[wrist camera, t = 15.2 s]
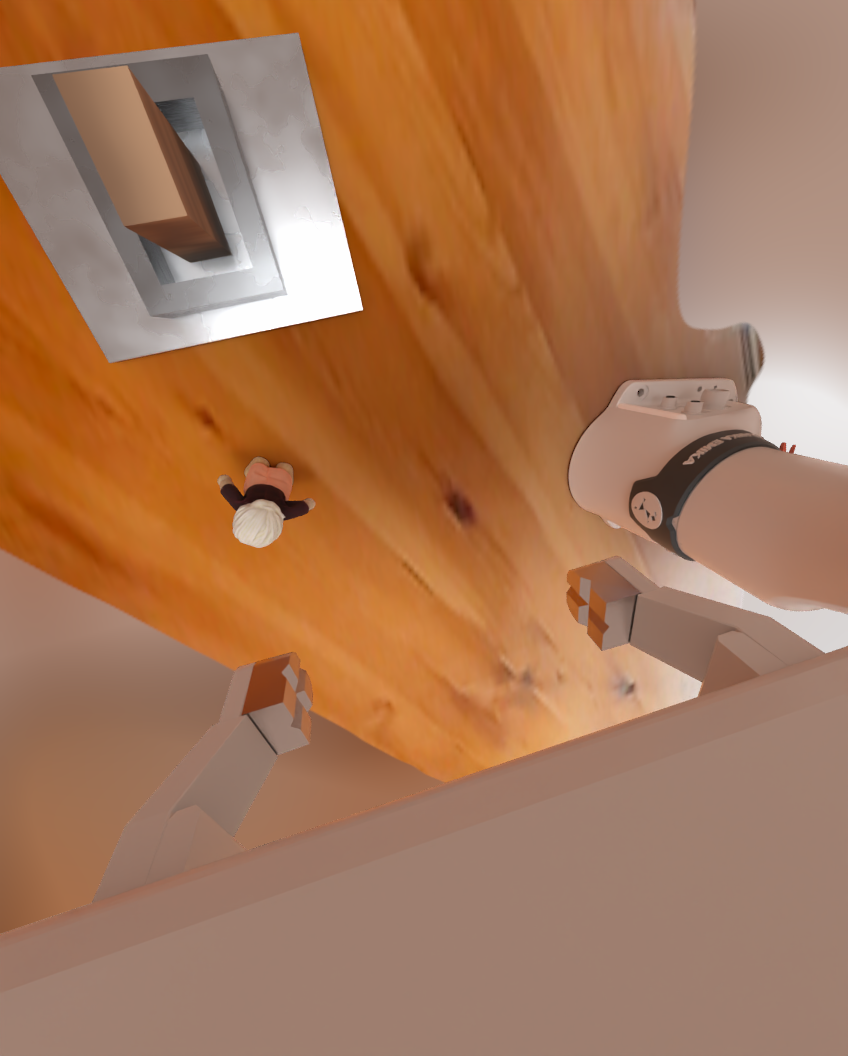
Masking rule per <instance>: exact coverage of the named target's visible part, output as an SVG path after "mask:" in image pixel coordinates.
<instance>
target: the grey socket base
mask: <svg viewBox="0 0 848 1056" xmlns="http://www.w3.org/2000/svg"><path fill="white" fill-rule="evenodd" d="M118 66H128V67H129V69H130V70H131V71H132V73H133V74H134V75H135V77H136V78H137V80H138V81H139V82H140V84H141V85H142V86H143V88H144V89H145V90H146V92H147V93H148V95H149V96H150V97H151V99H152V100H153V101H154V103H155V104H156V105H157V107H158V108H159V110H160V111H161V112H162V114H163V115H164V116H165V118H166V119H167V121H168V122H169V123H170V125H171V126H172V127H173V129H174V130H175V131H176V133H177V134H178V136H179V137H180V138H181V140H182V141H183V142H184V144H185V145H186V147H187V148H188V149H189V151H190V152H191V153H192V155H193V156H194V157H195V159H196V160H197V162H198V163H199V165H200V168H201V171H202V174H203V176H204V179H205V182H206V184H207V187H208V190H209V193H210V195H211V198H212V201H213V204H214V206H215V209H216V212H217V214H218V217H219V220H220V223H221V225H222V228H223V231H224V233H225V236H226V239H227V242H228V244H229V247H230V250H231V252H232V255H231V256H226V257H220V258H215V259H209V260H204V261H199V262H193V263H190V262H188V261H186V260H184V259H182V258H181V257H179V256H177V255H175V254H173V253H171V252H170V251H168V250H166V249H164V248H162V247H161V246H159V245H157V244H155V243H153V242H151V241H150V240H148V239H146V238H144V237H142V236H140V235H139V234H137V233H135V232H133V231H131V230H130V229H128V228H126V227H124V225H123V223H122V221H121V219H120V217H119V215H118V213H117V211H116V209H115V207H114V204H113V202H112V200H111V198H110V196H109V194H108V192H107V190H106V188H105V185H104V183H103V181H102V179H101V177H100V175H99V173H98V171H97V169H96V167H95V164H94V162H93V160H92V158H91V156H90V154H89V152H88V150H87V148H86V146H85V143H84V141H83V139H82V137H81V135H80V133H79V131H78V129H77V127H76V125H75V122H74V120H73V118H72V116H71V114H70V112H69V110H68V108H67V106H66V104H65V101H64V99H63V97H62V95H61V93H60V91H59V89H58V87H57V85H56V82H55V80H54V78H53V76H52V75H53V74H61V73H69V72H77V71H85V70H94V69H102V68H110V67H118ZM0 174H1V176H2V178H3V180H4V181H5V183H6V185H7V187H8V188H9V190H10V192H11V193H12V195H13V197H14V199H15V200H16V202H17V204H18V206H19V207H20V209H21V211H22V212H23V214H24V216H25V218H26V219H27V221H28V223H29V225H30V226H31V228H32V230H33V231H34V233H35V235H36V237H37V238H38V240H39V242H40V244H41V245H42V247H43V249H44V250H45V252H46V254H47V256H48V257H49V259H50V261H51V263H52V264H53V266H54V268H55V270H56V271H57V273H58V275H59V276H60V278H61V280H62V282H63V283H64V285H65V287H66V289H67V290H68V292H69V294H70V295H71V297H72V299H73V301H74V302H75V304H76V306H77V308H78V309H79V311H80V313H81V314H82V316H83V318H84V320H85V321H86V323H87V325H88V327H89V328H90V330H91V332H92V334H93V335H94V337H95V339H96V340H97V342H98V344H99V346H100V347H101V349H102V351H103V353H104V354H105V356H106V358H107V359H108V361H109V363H114V362H120V361H125V360H130V359H134V358H139V357H144V356H149V355H153V354H158V353H163V352H168V351H172V350H177V349H182V348H187V347H191V346H196V345H201V344H206V343H210V342H215V341H220V340H225V339H229V338H234V337H239V336H244V335H248V334H253V333H258V332H263V331H267V330H272V329H277V328H282V327H286V326H291V325H296V324H301V323H305V322H310V321H315V320H319V319H324V318H329V317H334V316H338V315H343V314H348V313H353V312H357V311H362V310H363V308H362V303H361V299H360V295H359V291H358V286H357V282H356V278H355V273H354V269H353V265H352V261H351V256H350V252H349V248H348V243H347V239H346V235H345V231H344V226H343V222H342V218H341V213H340V209H339V205H338V201H337V196H336V192H335V188H334V183H333V179H332V175H331V171H330V166H329V162H328V158H327V153H326V149H325V145H324V141H323V136H322V132H321V128H320V124H319V119H318V115H317V111H316V106H315V102H314V98H313V94H312V89H311V85H310V81H309V76H308V72H307V68H306V64H305V59H304V55H303V51H302V46H301V42H300V38H299V34H298V33H292V34H284V35H275V36H267V37H258V38H249V39H241V40H232V41H224V42H215V43H207V44H198V45H190V46H181V47H172V48H164V49H155V50H147V51H138V52H130V53H121V54H113V55H104V56H96V57H87V58H78V59H70V60H61V61H53V62H44V63H36V64H27V65H19V66H10V67H2V68H0Z"/></svg>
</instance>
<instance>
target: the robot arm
mask: <svg viewBox="0 0 848 1056" xmlns="http://www.w3.org/2000/svg"><path fill="white" fill-rule="evenodd" d="M638 391H639V393H638ZM637 393H638V395H637ZM795 447H796V445H793V446H792V447H791V449H790V451H789V453H788V452H786V443H782V444H781V446H780V448H778V447H777V446H775V445H774V444H772V443H770V442H768V441H766V440H764V438H763V437H761V417H760V414H759V412H758V410H757V409H756V408H755V407H754V406H752V405H749V404H744V403H739V402H738V396H737V389H736V386H735V383H734V381H733V380H731V379H727V378H694V379H653V380H628V381H626V382H624V383H623V384H622V385H621V386H620V387H619V389H618V390H617V392H616V394H615V395H614V397H613V399H612V401H611V402H610V404H609V406H608V407H607V409H606V410H605V411H604V412H603V413H602V414H601V415H600V416H599V417H598V418H597V419H596V420H595V421H594V422H593V423H592V424H591V425H590V426H589V427H588V429H587V430H586V431H585V433H584V434H583V436H582V437H581V439H580V440H579V442H578V444H577V446H576V448H575V450H574V453H573V456H572V459H571V463H570V467H569V486H570V491H571V494H572V496H573V498H574V500H575V501H576V502H577V504H578V505H579V506H580V507H582V508H583V509H585V510H586V511H589V512H592V513H594V514H597V515H599V516H600V517H601V518H602V519H603V521H604V522H605V523H606V524H607V525H609V526H610V527H613V528H615V529H618V528H621V527H622V528H624V529H626V530H628V531H630V532H632V533H634V534H636V535H639V536H641V537H643V538H645V539H647V540H649V541H651V542H653V543H656V544H659V545H661V546H663V547H664V548H666V550H667V551H669V552H671V553H673V554H675V555H678V556H680V557H682V558H684V559H686V560H690V561H697V562H699V563H700V564H702V565H704V566H705V567H707V568H709V569H710V570H712V571H714V572H715V573H717V574H718V575H720V576H722V577H723V578H725V579H727V580H728V581H730V582H732V583H733V584H735V585H737V586H738V587H740V588H742V589H743V590H745V591H747V592H748V593H750V594H752V595H753V596H755V597H757V598H759V599H760V600H762V601H763V602H765V603H767V604H769V605H771V606H774V607H777V608H780V609H784V610H790V611H812V610H819V609H824V608H825V609H830V610H834V611H837V612H841V613H844V614H848V466H847V465H842V464H838V463H833V462H828V461H824V460H819V459H815V458H810V457H805V456H801V455H797V454H793V453H794V450H795ZM567 582H568V583H569V584H570V585H571V587H570V588H569V590H568V591H567V604H568V607H569V610H570V612H571V614H572V615H573V617H574V618H575V619H576V621H577V622H578V623H580V624H582V625H585V626H587V627H588V628H587V634H588V635H589V636H590V638H591V639H592V640H593V641H594V642H595V644H596V645H597V646H598V647H599V648H600V650H601V651H603V650H607V649H610V648H614V647H617V646H621V645H624V644H628V643H630V645H632V646H634V647H636V648H638V649H639V650H641V651H643V652H645V653H647V654H649V655H651V656H653V657H655V658H657V659H659V660H660V661H662V662H664V663H666V664H668V665H670V666H672V667H674V668H676V669H678V670H680V671H682V672H683V673H685V674H687V675H689V676H691V677H693V678H695V679H697V680H699V681H701V682H702V685H701V688H700V691H699V694H698V697H697V698H694V699H691V700H688V701H685V702H682V703H679V704H676V705H673V706H670V707H667V708H664V709H661V710H658V711H655V712H652V713H649V714H647V715H644V716H641V717H638V718H635V719H632V720H629V721H626V722H623V723H620V724H617V725H614V726H611V727H608V728H605V729H602V730H599V731H597V732H594V733H591V734H588V735H585V736H582V737H579V738H576V739H573V740H570V741H567V742H564V743H561V744H558V745H555V746H552V747H549V748H547V749H544V750H541V751H538V752H535V753H532V754H529V755H526V756H523V757H520V758H517V759H514V760H511V761H508V762H505V763H502V764H500V765H497V766H494V767H491V768H488V769H485V770H482V771H479V772H476V773H473V774H470V775H467V776H464V777H461V778H459V779H456V780H453V781H450V782H447V783H444V784H441V785H438V786H435V787H432V788H429V789H426V790H424V791H421V792H418V793H415V794H412V795H409V796H406V797H403V798H400V799H397V800H394V801H391V802H388V803H385V804H383V805H380V806H376V807H373V808H370V809H367V810H365V811H362V812H359V813H356V814H353V815H350V816H347V817H344V818H341V819H338V820H335V821H332V822H329V823H326V824H323V825H321V826H317V827H315V828H312V829H309V830H306V831H303V832H300V833H297V834H294V835H291V836H288V837H285V838H282V839H279V840H277V841H273V842H270V843H267V844H264V845H262V846H259V847H256V848H253V849H250V850H246V849H245V848H244V847H243V846H242V845H241V844H240V843H239V842H238V841H237V840H235V839H234V838H233V837H234V836H235V833H236V832H237V830H238V828H239V827H240V825H241V823H242V821H243V819H244V817H245V816H246V814H247V812H248V810H249V808H250V807H251V805H252V803H253V801H254V799H255V798H256V796H257V794H258V792H259V790H260V789H261V786H262V785H263V783H264V781H265V780H266V778H267V776H268V774H269V772H270V770H271V769H272V767H273V765H274V763H275V761H276V760H277V755H279V754H282V753H285V752H288V751H291V750H294V749H297V748H299V747H302V746H305V745H308V744H310V733H311V718H310V717H309V715H308V713H307V712H308V711H309V709H310V708H311V706H312V703H313V692H312V684H311V681H310V678H309V676H308V674H307V672H306V671H305V670H303V669H301V668H300V659H299V657H298V656H297V654H296V653H295V652H291V653H287V654H283V655H279V656H276V657H272V658H268V659H264V660H261V661H257V662H255V663H251V664H247V665H244V666H240V667H238V668H237V669H236V670H235V672H234V674H233V677H232V681H231V684H230V687H229V690H228V694H227V697H226V700H225V703H224V707H223V710H222V713H221V717H220V720H219V723H217V724H214V725H212V726H211V727H210V729H209V730H208V731H207V732H206V733H205V734H204V736H203V737H202V738H201V739H200V740H199V741H198V742H197V744H196V745H195V746H194V747H193V748H192V749H191V750H190V752H189V753H188V754H187V755H186V756H185V757H184V759H183V760H182V761H181V762H180V763H179V764H178V765H177V767H176V768H175V769H174V770H173V771H172V772H171V774H170V775H169V776H168V777H167V778H166V779H165V780H164V782H163V783H162V784H161V785H160V786H159V787H158V789H157V790H156V791H155V792H154V793H153V794H152V795H151V797H150V798H149V799H148V800H147V801H146V802H145V804H144V805H143V806H142V807H141V808H140V809H139V810H138V812H137V813H136V814H135V815H134V816H133V817H132V819H131V820H130V821H129V822H128V823H127V824H126V826H125V827H124V830H123V832H122V835H121V837H120V839H119V841H118V844H117V846H116V848H115V851H114V853H113V855H112V858H111V860H110V862H109V865H108V867H107V869H106V871H105V874H104V876H103V878H102V881H101V883H100V885H99V888H98V890H97V892H96V895H95V897H94V899H93V901H92V903H91V904H88V905H85V906H82V907H79V908H76V909H73V910H70V911H67V912H64V913H61V914H58V915H55V916H52V917H49V918H47V919H44V920H40V921H38V922H34V923H32V924H29V925H26V926H23V927H20V928H17V929H14V930H11V931H8V932H5V933H2V934H0V1056H848V646H846V647H844V648H841V649H838V650H835V651H832V652H829V653H826V654H825V653H824V652H822V651H821V650H819V649H818V648H816V647H815V646H813V645H812V644H810V643H809V642H807V641H806V640H804V639H802V638H801V637H799V636H798V635H797V634H795V633H794V632H792V631H791V630H789V629H788V628H786V627H784V626H783V625H781V624H780V623H778V622H777V621H775V620H774V619H772V618H771V617H768V616H764V615H761V614H757V613H754V612H751V611H747V610H743V609H740V608H737V607H733V606H730V605H727V604H723V603H720V602H716V601H713V600H709V599H706V598H703V597H699V596H696V595H692V594H689V593H685V592H682V591H679V590H675V589H672V588H668V587H662V588H659V587H658V586H657V585H656V584H654V583H653V582H652V581H651V580H649V579H648V578H647V577H645V576H644V575H643V574H642V573H640V572H639V571H638V570H637V569H635V568H634V567H633V566H631V565H630V564H629V563H628V562H626V561H625V560H624V559H622V558H621V557H618V556H614V557H611V558H608V559H605V560H602V561H600V562H595V563H592V564H589V565H586V566H582V567H579V568H576V569H572V570H569V572H568V574H567Z"/></svg>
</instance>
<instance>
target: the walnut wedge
mask: <svg viewBox="0 0 848 1056" xmlns="http://www.w3.org/2000/svg"><path fill="white" fill-rule="evenodd" d="M52 76H53V78H54V80H55V82H56V85H57V87H58V89H59V91H60V93H61V95H62V97H63V99H64V101H65V104H66V106H67V108H68V110H69V112H70V114H71V116H72V118H73V120H74V122H75V125H76V127H77V129H78V131H79V133H80V135H81V137H82V139H83V141H84V143H85V146H86V148H87V150H88V152H89V154H90V156H91V158H92V160H93V162H94V164H95V167H96V169H97V171H98V173H99V175H100V177H101V179H102V181H103V183H104V185H105V188H106V190H107V192H108V194H109V196H110V198H111V200H112V202H113V204H114V207H115V209H116V211H117V213H118V215H119V217H120V219H121V221H122V223H123V225H124V227H126V228H128V229H130V230H131V231H133V232H135V233H137V234H139V235H140V236H142V237H144V238H146V239H148V240H150V241H151V242H153V243H155V244H157V245H159V246H161V247H162V248H164V249H166V250H168V251H170V252H171V253H173V254H175V255H177V256H179V257H181V258H182V259H184V260H186V261H188V262H190V263H193V262H199V261H204V260H209V259H215V258H220V257H226V256H231V255H232V252H231V250H230V247H229V244H228V242H227V239H226V236H225V233H224V231H223V228H222V225H221V223H220V220H219V217H218V214H217V212H216V209H215V206H214V204H213V201H212V198H211V195H210V193H209V190H208V187H207V184H206V182H205V179H204V176H203V174H202V171H201V168H200V165H199V163H198V162H197V160H196V159H195V157H194V156H193V155H192V153H191V152H190V151H189V149H188V148H187V147H186V145H185V144H184V142H183V141H182V140H181V138H180V137H179V136H178V134H177V133H176V131H175V130H174V129H173V127H172V126H171V125H170V123H169V122H168V121H167V119H166V118H165V116H164V115H163V114H162V112H161V111H160V110H159V108H158V107H157V105H156V104H155V103H154V101H153V100H152V99H151V97H150V96H149V95H148V93H147V92H146V90H145V89H144V88H143V86H142V85H141V84H140V82H139V81H138V80H137V78H136V77H135V75H134V74H133V73H132V71H131V70H130V69H129V67H128V66H118V67H110V68H102V69H94V70H85V71H77V72H69V73H61V74H53V75H52Z"/></svg>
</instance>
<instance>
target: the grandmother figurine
mask: <svg viewBox="0 0 848 1056" xmlns="http://www.w3.org/2000/svg"><path fill="white" fill-rule="evenodd" d="M244 474H245V477H246V481H245V484H244V494H245V495H244V497H243V496H242V494H241V493H240V492H239V490H238V489H237V488H236V487H235V486H234V484H233V482H232V479H231V478H230V477H229V476H228V475H221V476H220V477H219V478H218V484H219V485H220V489H221V494H222V495H223V497H224V498H225V499H226V500H227V501H228V502H229V503H230V505H231V506H232V507H233V508H234V509H235V510H236V513H235V515H234V521H233V533H234V535H235V537H236V538H238V539H239V541H240V542H242V543H244V544H247V545H251V546H254V547H257V548H260V547H265V546H267V545H269V544H270V543H272V542H273V541H274V540H276V539H277V538H278V537H279V535H280V534H281V532H282V529H283V521H284V520H288V519H292V518H296V517H298V516H302V515H304V514H307V513H308V511H309V510H311V509H313V508H314V507H315V501H314V500H313V499H311V498H307V499H305V500H303V501H288V499H289V497H290V493H291V490H292V485H293V468H292V466H291V465H290V464H288V463H279V464H277V466H276V468H271V467H270V464H269V462H268V461H267V460H266V459H264V458H262V457H255V458H254V459H253V460H252V461H251V462H250V464H249V465H248V466H247V467H246V469H245V472H244Z"/></svg>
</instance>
